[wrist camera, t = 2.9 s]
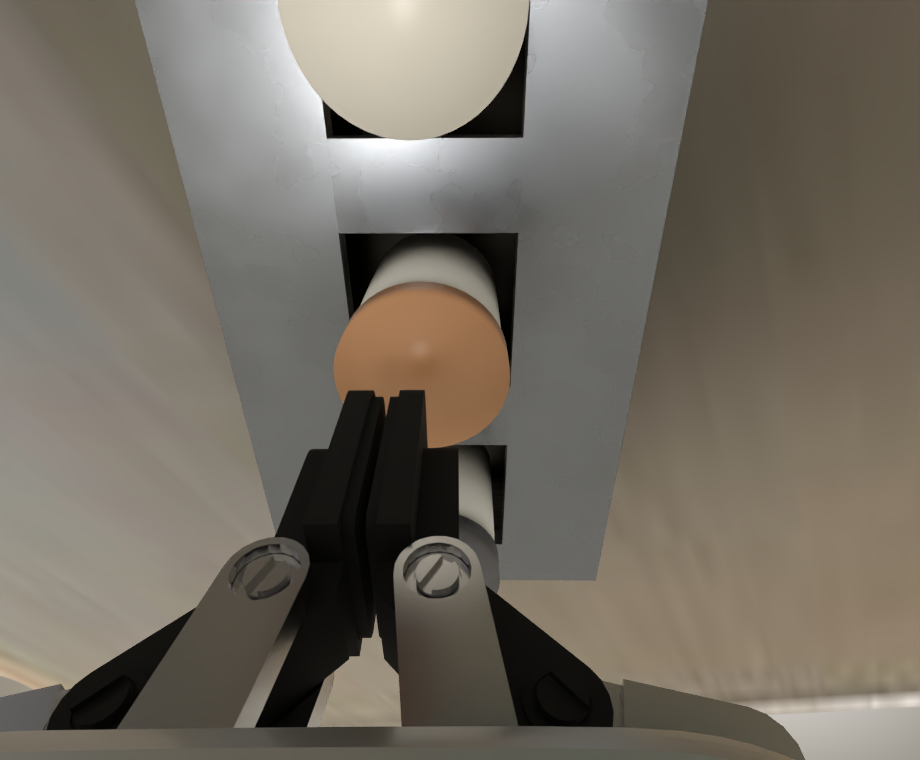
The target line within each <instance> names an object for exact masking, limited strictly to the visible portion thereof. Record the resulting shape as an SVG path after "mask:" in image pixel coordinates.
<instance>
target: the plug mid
mask: <svg viewBox="0 0 920 760" xmlns="http://www.w3.org/2000/svg"><path fill="white" fill-rule="evenodd" d="M333 371H334V381H335V385H336V389H337V392H338V394H339V397H340V399H341V401H342V403H343V404H344V401H345V398H346V395H347V392H348V391H349V390H374V392H375V396H376V397H384V402H385V413H386V415H387V410H388V405H389V400H390V397H398V396H399V392H400V390H425V398H426V420H427V442H428V448H440V447H446V446H450V445H454V444H457V443H460V442H462V441H465V440H467V439H469V438H471V437H473V436H475V435H476V434H478V433H479V432H480V431H482V430H483V429H484V428H485V427H487V426H488V425H489V424H490V423H491V422H492V421H493V419H494V418H495V417H496V416H497V415H498V413H499V411H500V410H501V408H502V407H503V404H504V402H505V400H506V397H507V394H508V390H509V384H510V367H509V359H508V352H507V346H506V341H505V338H504V335H503V332H502V330H501V325H500V317H499V308H498V300H497V292H496V284H495V279H494V275H493V272H492V270H491V267H490V265H489V263H488V262H487V260H486V259H485V257H484V256H483V255H482V254H481V253H480V251H479V250H478V249H476V248H475V247H474V246H473V245H472V244H470V243H469V242H467V241H466V240H464V239H462V238H460V237H458V236H455V235H452V234H448V233H418V234H414V235H411V236H408V237H406V238H404V239H402V240H400V241H399V242H398V243H396V244H395V245H393V246H392V247H391V248H390V249H389V250H388V251H387V252H386V254H385V255H384V256H383V258H382V259H381V261H380V263H379V265H378V267H377V269H376V271H375V274H374V276H373V278H372V280H371V282H370V285H369V287H368V289H367V291H366V294H365V296H364V298H363V300H362V303H361V305H360V307H359V308H358V309H357V310H356V312H355V313H354V314H353V316H352V317H351V319H350V321H349V322H348V324H347V326H346V329H345V331H344V333H343V335H342V337H341V339H340V342H339V344H338V347H337V349H336V353H335V357H334V367H333Z"/></svg>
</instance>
